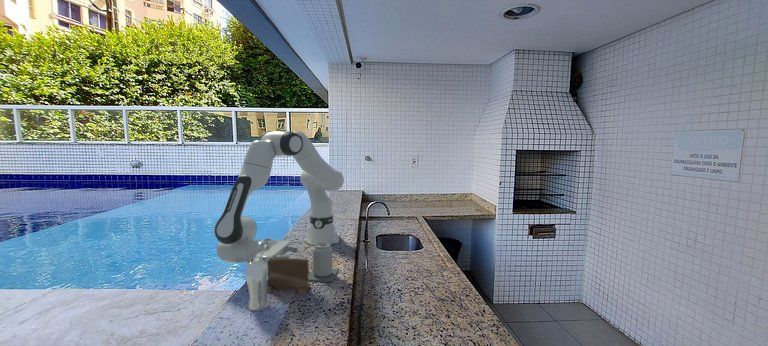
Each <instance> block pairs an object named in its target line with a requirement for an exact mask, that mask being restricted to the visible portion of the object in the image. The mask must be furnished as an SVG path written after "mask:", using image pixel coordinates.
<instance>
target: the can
mask: <svg viewBox="0 0 768 346" xmlns="http://www.w3.org/2000/svg"><path fill="white" fill-rule="evenodd" d="M331 245H332V244H329V243H317V244H315V245H313V246H314V247H313V248H312V271H313V274H314V275H315V276H317V277H327V276H329V275H330V274H331V273H332V269H333V247H332V246H331Z"/></svg>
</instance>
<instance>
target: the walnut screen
mask: <svg viewBox="0 0 768 346" xmlns="http://www.w3.org/2000/svg"><path fill="white" fill-rule="evenodd" d="M289 258H290V257H289ZM289 258H269V265H270V278H269V284H268V290H267V294H268V293H269V294H270V293H272V292H273V291H289V292H290V291H293V292H298V294H299V295H306V293H307V292H308V290H309V289H310V287H311V283H310V282H309V281H308V276H309V259H307V258H290V259H289Z"/></svg>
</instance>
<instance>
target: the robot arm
mask: <svg viewBox="0 0 768 346" xmlns="http://www.w3.org/2000/svg"><path fill="white" fill-rule="evenodd" d="M281 156H284V157H285V156H286V157H287V156H288V157H291V156H292V157H293V159H294V160H295V161H296V163H297V164H298V166H299V167H300V168H301V170H302V172H301V174H300V183H301V185H302V186H303V187H304V188H305V190H306V191H307V195H308V197H309V201H310V217H309V225H307V227H306V237H305V238H304V239H303V242H305V243H307V244H309V245H312V246H314V245H315V244H317V243H329V244H331V245H333V244H338V243H340V233H339V232H336V229H337V228H336V225H335V223H334V214H333V200H332V199H331V198H330V196H328V195H327V192H329V191H330V192H332V191H334V192H335V191H338V190H341V188H342V187H343V185H344V181H345V179H344V175H343V173H342V172H341V171H339V170H336V169H335V167H333V166H331V165H330V164H329V163H328V162H327V161H325V160H324V159H323V157H322V156H321V155H320V153H319V151H318V150H317V149H316V147H315V146H314V144H313V142H312V141H311V140H310V138H309V137H308V136H307V135H306V134H305V133H304V132H303V131H301V130H295V131H288V130H275V131H272V130H269V131H265V132H262V133H261V134H260V135H259V136H258V138H257V140H253V141H252V142H251V143H250V145H249V147H248V149H247V151H246V153H245V156H244V159H243V163H242V166H241V170H240V173H239V175H238V176H237V179H236V180H235V182H234V183H233V186H232V187H231V188H232V189H231V191H230V194H229V197H228V199H227V202H226V205H225V208H224V210H223V213H222V214H221V216H220V218H218V220H217V221H216V223H215V226H214V235H215V238H216V239H217V240H218V241H219V242H218V244H217V247H216V253H217V254H216V255H217V256H218V258H219V259H220V261H224V262H229V263H235V264H236V263H237V264H238V263H239V264H240V263H247V262H246V261H247V260H248V259H250V258H253V257H258V256H264V257H268V258H289V259H291V258H290V255H289V254H288V252H292V253H297V252H298V251H299V247H298V246H293V245H292V244H291V241H289V240H282V239H273V238H271V237H270V238H265V239H261V240H260V239H259V240H255V238H256V234H257V229H258V227H257V223H256V220H254V218H251V217H249V216H243V212H244V209H245V207H246V204H247V201H248V198H249V196H251V194H252V193H253V192H254V191H255V190H258V189H260V188H262V187H264V186H265V185H266V184H267V183H268V180H269V178H270V175H271V173H272V168H273V162H274V159H275V158H276V157H281ZM326 191H327V192H326Z"/></svg>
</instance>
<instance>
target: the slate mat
mask: <svg viewBox="0 0 768 346" xmlns="http://www.w3.org/2000/svg"><path fill="white" fill-rule="evenodd" d="M338 273H339V269H338V268H332V273H331V274H330V275H329V276H327V277H317V276H315V275H314V274H313V270H312V271H311V272H310V273H309V274H308V282H319V283H333V282H334V280H335V278H336V276H337V275H338Z"/></svg>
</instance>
